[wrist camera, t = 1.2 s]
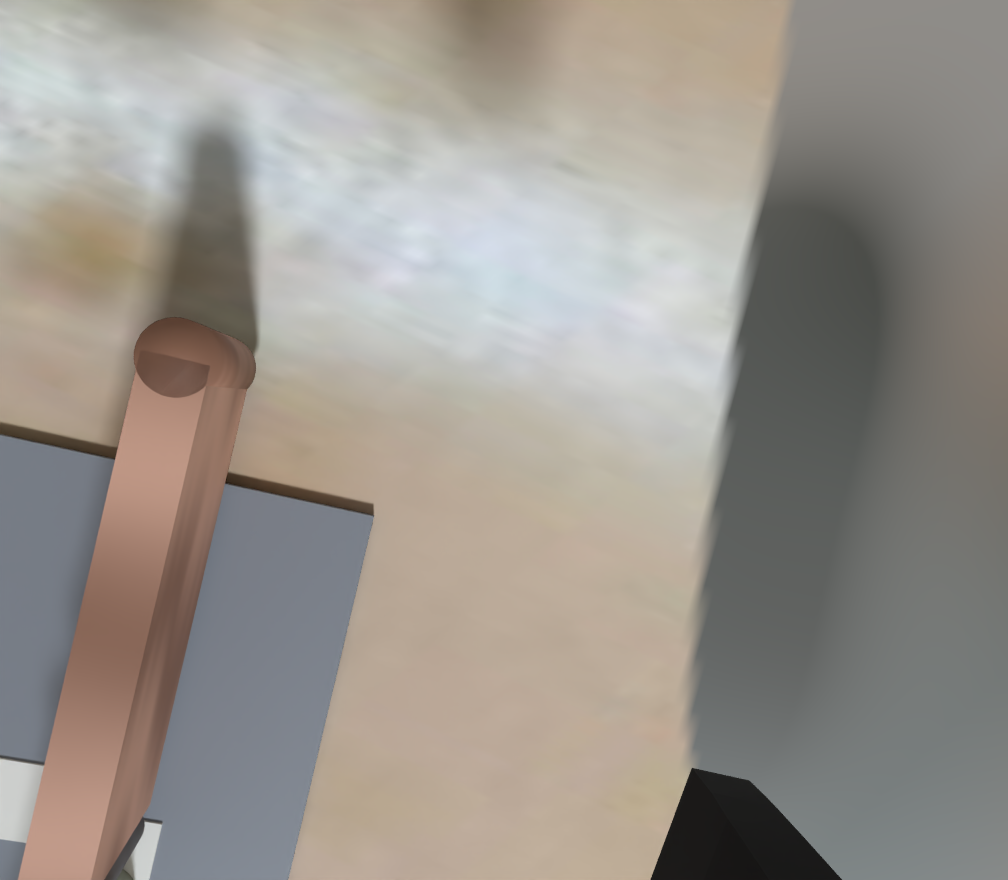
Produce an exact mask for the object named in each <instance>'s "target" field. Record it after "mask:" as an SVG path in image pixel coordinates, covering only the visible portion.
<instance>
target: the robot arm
mask: <svg viewBox="0 0 1008 880" xmlns="http://www.w3.org/2000/svg"><path fill="white" fill-rule="evenodd" d="M651 880H842V879H841V878H840V877H839V876H838V875H837V874H836V873H835V872H834V870H833V869H832V868H831V867H830V866H829V865H828V864H827V863H826V861H825V860H824V859H823V858H822V857H821V856H820V855H819V854H818V853H817V852H816V850H815V849H814V848H813V847H812V846H811V845H810V844H809V843H808V841H807V840H806V839H805V838H804V837H803V836H802V835H801V834H800V833H799V832H798V831H797V829H796V828H795V827H794V826H793V825H792V824H791V823H790V822H789V821H788V820H787V819H786V818H785V816H784V815H783V814H782V813H781V812H780V811H779V810H778V809H777V808H776V807H775V806H774V805H773V804H772V803H771V802H770V801H769V800H768V798H766V796H765V795H764V794H763V793H761V792H760V791H759V790H758V789H757V788H756V787H755V786H754V785H753V784H752V783H751V782H750V781H749V780H744V779H739V778H735V777H731V776H726V775H722V774H717V773H712V772H708V771H703V770H699V769H694V768H692V769H691V772H690V775H689V777H688V780H687V783H686V785H685V788H684V791H683V794H682V796H681V799H680V802H679V804H678V807H677V810H676V812H675V815H674V818H673V820H672V823H671V826H670V829H669V831H668V834H667V837H666V839H665V842H664V845H663V847H662V850H661V853H660V856H659V858H658V861H657V864H656V866H655V869H654V872H653V874H652V877H651Z"/></svg>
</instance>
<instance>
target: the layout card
mask: <svg viewBox="0 0 1008 880" xmlns="http://www.w3.org/2000/svg"><path fill="white" fill-rule="evenodd" d="M114 462H115V459H113V458H109V457H104V456H99V455H95V454H90V453H86V452H81V451H77V450H72V449H67V448H63V447H58V446H54V445H49V444H44V443H40V442H35V441H31V440H26V439H21V438H17V437H12V436H8V435H3V434H0V880H18V877H19V872H20V868H21V864H22V859H23V855H24V851H25V846H26V842H27V838H28V834H29V829H30V825H31V821H32V816H33V812H34V808H35V803H36V799H37V795H38V790H39V786H40V782H41V777H42V773H43V769H44V764H45V760H46V756H47V751H48V747H49V743H50V739H51V734H52V730H53V726H54V721H55V717H56V713H57V708H58V704H59V700H60V695H61V691H62V687H63V682H64V678H65V674H66V669H67V665H68V661H69V657H70V652H71V648H72V644H73V639H74V635H75V631H76V626H77V622H78V618H79V613H80V609H81V605H82V600H83V596H84V592H85V587H86V583H87V579H88V574H89V570H90V566H91V562H92V557H93V553H94V549H95V544H96V540H97V536H98V531H99V527H100V523H101V518H102V514H103V510H104V505H105V501H106V497H107V492H108V488H109V484H110V479H111V475H112V471H113V467H114ZM373 518H374V515H371V514H366V513H361V512H357V511H352V510H348V509H343V508H338V507H334V506H329V505H325V504H320V503H315V502H311V501H306V500H302V499H297V498H292V497H288V496H283V495H279V494H274V493H269V492H265V491H260V490H256V489H251V488H247V487H242V486H237V485H233V484H228V483H225V486H224V490H223V494H222V499H221V503H220V507H219V511H218V516H217V520H216V524H215V529H214V533H213V537H212V541H211V546H210V550H209V554H208V559H207V563H206V567H205V571H204V576H203V580H202V584H201V589H200V593H199V597H198V601H197V606H196V610H195V614H194V618H193V623H192V627H191V631H190V636H189V640H188V644H187V648H186V653H185V657H184V661H183V666H182V670H181V674H180V678H179V683H178V687H177V691H176V696H175V700H174V704H173V708H172V713H171V717H170V721H169V726H168V730H167V734H166V738H165V743H164V747H163V751H162V756H161V760H160V764H159V768H158V773H157V777H156V781H155V785H154V790H153V794H152V798H151V803H150V805H149V807H148V809H147V810H146V812H145V814H144V815H143V817H144V822H145V827H144V832H143V835H142V837H141V839H140V840H139V842H138V844H137V845H136V847H135V849H134V851H133V852H132V854H131V856H130V857H129V859H128V861H127V862H126V864H125V866H124V868H123V869H124V870H125V871H126V872H128V873H129V875H130V876H131V877H132V879H133V880H288V878H289V874H290V869H291V865H292V861H293V857H294V852H295V848H296V844H297V840H298V835H299V831H300V827H301V823H302V819H303V814H304V810H305V806H306V802H307V797H308V793H309V789H310V785H311V780H312V776H313V772H314V768H315V763H316V759H317V755H318V751H319V747H320V742H321V738H322V734H323V730H324V725H325V721H326V717H327V713H328V708H329V704H330V700H331V696H332V691H333V687H334V683H335V679H336V675H337V670H338V666H339V662H340V658H341V653H342V649H343V645H344V641H345V636H346V632H347V628H348V624H349V619H350V615H351V611H352V607H353V603H354V598H355V594H356V590H357V586H358V581H359V577H360V573H361V569H362V564H363V560H364V556H365V552H366V548H367V543H368V539H369V535H370V531H371V526H372V522H373Z"/></svg>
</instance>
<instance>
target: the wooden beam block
mask: <svg viewBox="0 0 1008 880" xmlns="http://www.w3.org/2000/svg"><path fill="white" fill-rule="evenodd" d="M134 364H135V368H136V372H135V376H134V380H133V384H132V389H131V393H130V397H129V402H128V406H127V410H126V415H125V419H124V423H123V428H122V432H121V436H120V441H119V445H118V449H117V454H116V458H115V462H114V467H113V471H112V475H111V479H110V484H109V488H108V492H107V497H106V501H105V505H104V510H103V514H102V518H101V523H100V527H99V531H98V536H97V540H96V544H95V549H94V553H93V557H92V562H91V566H90V570H89V574H88V579H87V583H86V587H85V592H84V596H83V600H82V605H81V609H80V613H79V618H78V622H77V626H76V631H75V635H74V639H73V644H72V648H71V652H70V657H69V661H68V665H67V669H66V674H65V678H64V682H63V687H62V691H61V695H60V700H59V704H58V708H57V713H56V717H55V721H54V726H53V730H52V734H51V739H50V743H49V747H48V751H47V756H46V760H45V764H44V769H43V773H42V777H41V782H40V786H39V790H38V795H37V799H36V803H35V808H34V812H33V816H32V821H31V825H30V829H29V834H28V838H27V842H26V846H25V851H24V855H23V859H22V864H21V868H20V872H19V877H18V880H117V878H118V876H119V874H120V873H121V871H122V869H123V868H124V866H125V864H126V862H127V861H128V859H129V857H130V856H131V854H132V852H133V851H134V849H135V847H136V845H137V844H138V842H139V840H140V839H141V837H142V835H143V832H144V827H145V822H144V817H143V815H144V814H145V812H146V810H147V809H148V807H149V805H150V803H151V798H152V794H153V790H154V785H155V781H156V777H157V773H158V768H159V764H160V760H161V756H162V751H163V747H164V743H165V738H166V734H167V730H168V726H169V721H170V717H171V713H172V708H173V704H174V700H175V696H176V691H177V687H178V683H179V678H180V674H181V670H182V666H183V661H184V657H185V653H186V648H187V644H188V640H189V636H190V631H191V627H192V623H193V618H194V614H195V610H196V606H197V601H198V597H199V593H200V589H201V584H202V580H203V576H204V571H205V567H206V563H207V559H208V554H209V550H210V546H211V541H212V537H213V533H214V529H215V524H216V520H217V516H218V511H219V507H220V503H221V499H222V494H223V490H224V486H225V481H226V477H227V473H228V469H229V464H230V460H231V456H232V451H233V447H234V443H235V439H236V434H237V430H238V426H239V422H240V417H241V413H242V409H243V404H244V400H245V396H246V392H247V389H248V388H249V387H250V385H251V384H252V382H253V380H254V377H255V373H256V363H255V359H254V356H253V354H252V352H251V351H250V349H249V348H248V347H247V346H246V345H245V344H244V343H243V342H241V341H239V340H238V339H235V338H233V337H230V336H228V335H226V334H223V333H221V332H218V331H216V330H213V329H211V328H208V327H206V326H203V325H201V324H198V323H196V322H193V321H191V320H188V319H184V318H177V317H172V318H165V319H161V320H158V321H156V322H154V323H153V324H151V325H150V326H148V327H147V328H146V329H145V330H144V331H143V332H142V333H141V335H140V337H139V338H138V340H137V342H136V345H135V349H134Z"/></svg>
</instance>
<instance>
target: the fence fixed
mask: <svg viewBox="0 0 1008 880" xmlns="http://www.w3.org/2000/svg"><path fill="white" fill-rule="evenodd" d="M117 880H133V879H132V877H131V876H130V875H129V873H128V872H126V871H125V870H124V869H122V871H121V873H120V874H119V876H118V878H117Z"/></svg>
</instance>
